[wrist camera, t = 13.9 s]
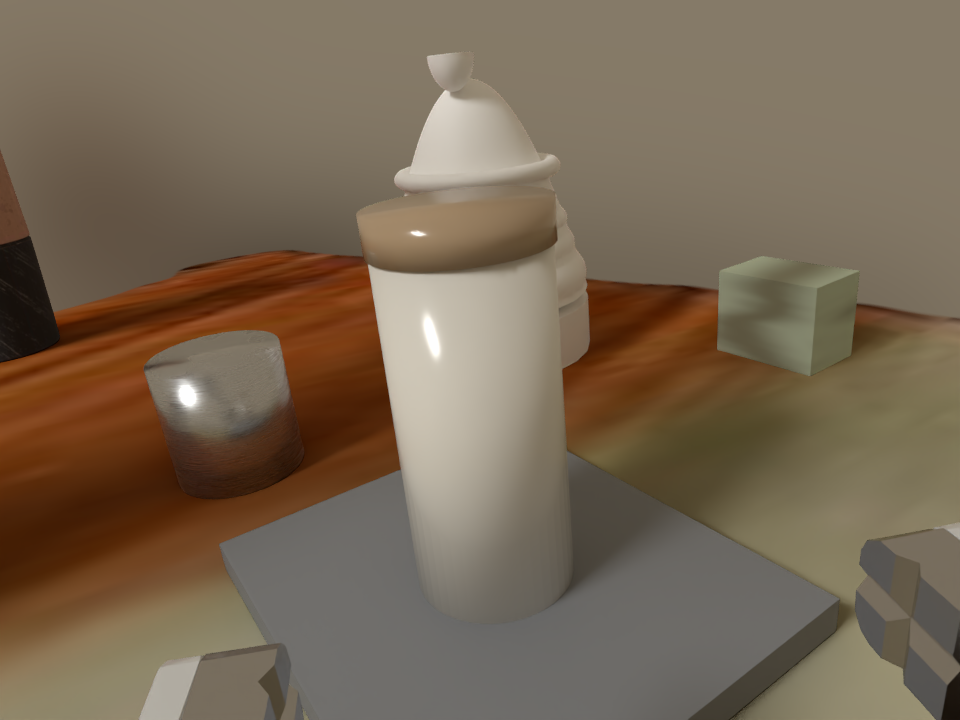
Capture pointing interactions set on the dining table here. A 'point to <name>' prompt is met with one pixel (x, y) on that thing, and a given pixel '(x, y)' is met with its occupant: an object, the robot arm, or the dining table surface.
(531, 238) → the white lidded jar
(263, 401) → the metal tin
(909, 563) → the robot arm
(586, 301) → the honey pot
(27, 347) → the travel mug
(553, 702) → the serving board
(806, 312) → the sage block
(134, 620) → the dining table surface
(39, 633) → the dining table surface
